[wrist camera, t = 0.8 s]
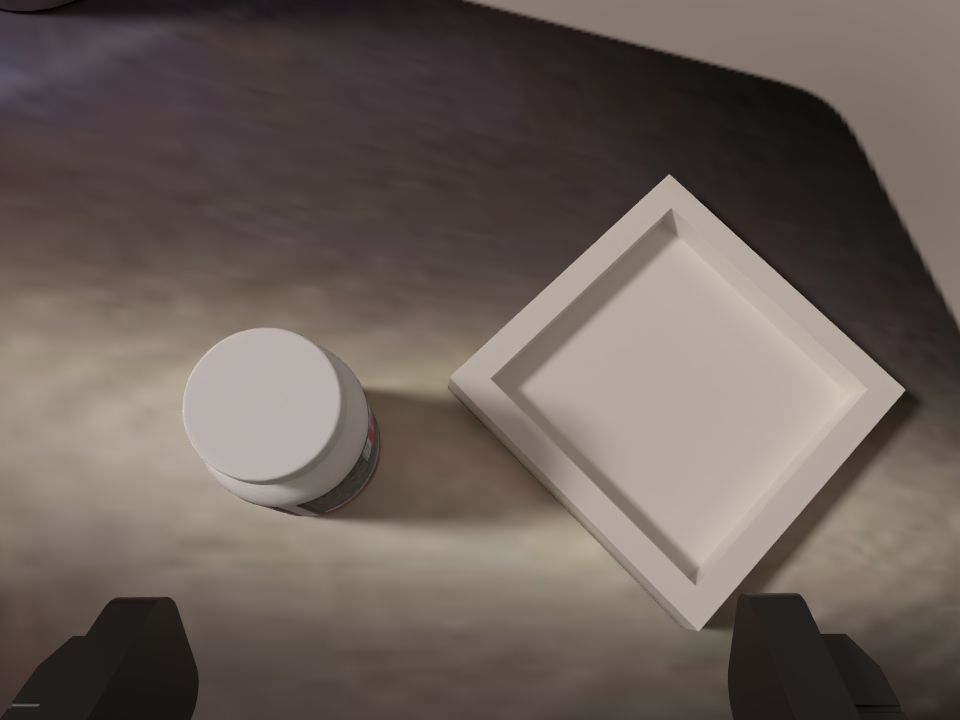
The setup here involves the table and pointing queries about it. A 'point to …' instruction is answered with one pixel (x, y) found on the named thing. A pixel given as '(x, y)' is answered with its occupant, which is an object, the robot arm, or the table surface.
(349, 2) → the table surface
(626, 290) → the tray
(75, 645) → the robot arm
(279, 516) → the table surface
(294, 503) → the pill bottle
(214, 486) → the table surface
